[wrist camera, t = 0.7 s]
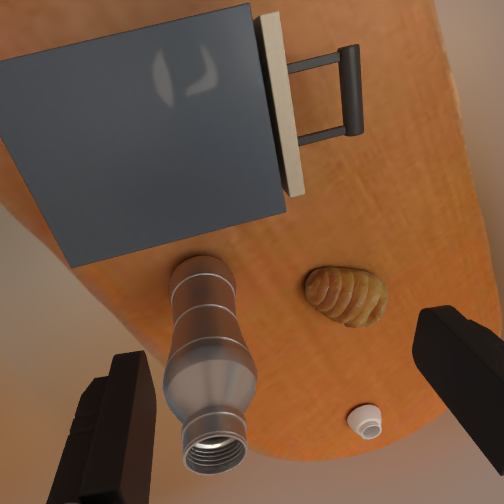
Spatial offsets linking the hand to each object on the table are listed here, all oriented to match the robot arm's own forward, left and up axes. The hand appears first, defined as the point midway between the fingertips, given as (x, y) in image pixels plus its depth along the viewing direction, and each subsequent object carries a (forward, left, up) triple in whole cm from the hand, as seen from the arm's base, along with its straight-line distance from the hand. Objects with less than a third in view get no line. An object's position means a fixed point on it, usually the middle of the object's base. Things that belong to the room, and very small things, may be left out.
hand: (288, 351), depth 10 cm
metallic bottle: (+11, -5, -25) cm, 28 cm away
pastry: (+18, +10, -25) cm, 33 cm away
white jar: (+41, +11, -25) cm, 50 cm away
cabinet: (-4, -4, -25) cm, 26 cm away
